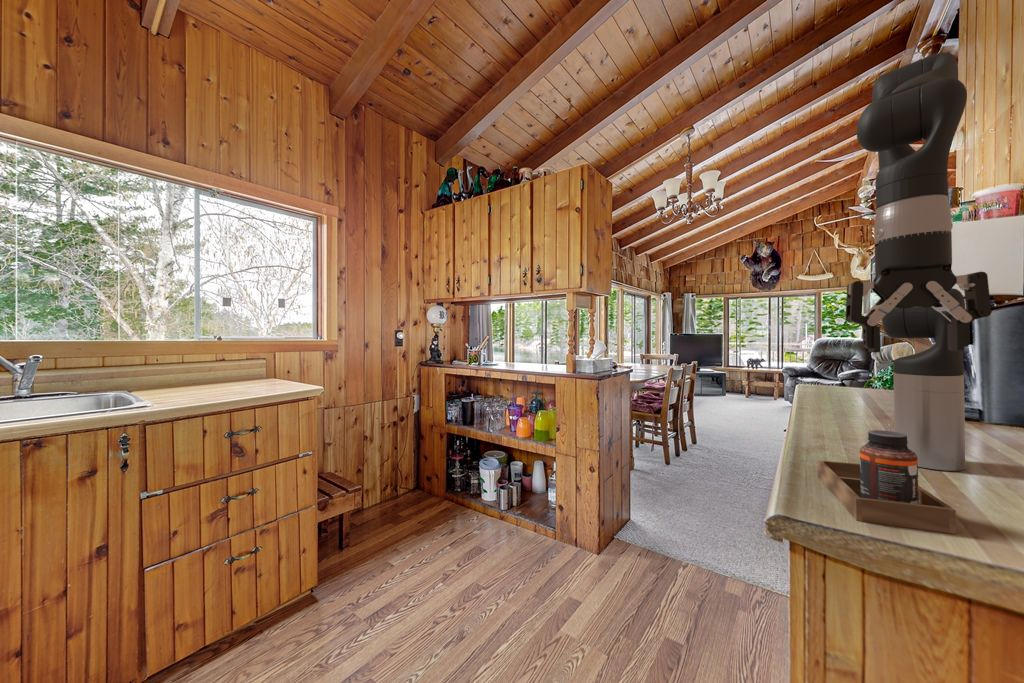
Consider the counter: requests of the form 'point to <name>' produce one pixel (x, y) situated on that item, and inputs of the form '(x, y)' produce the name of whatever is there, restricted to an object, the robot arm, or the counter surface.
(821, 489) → the counter surface
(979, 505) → the counter surface
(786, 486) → the counter surface
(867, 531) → the counter surface
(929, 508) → the caddy
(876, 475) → the supplement bottle
